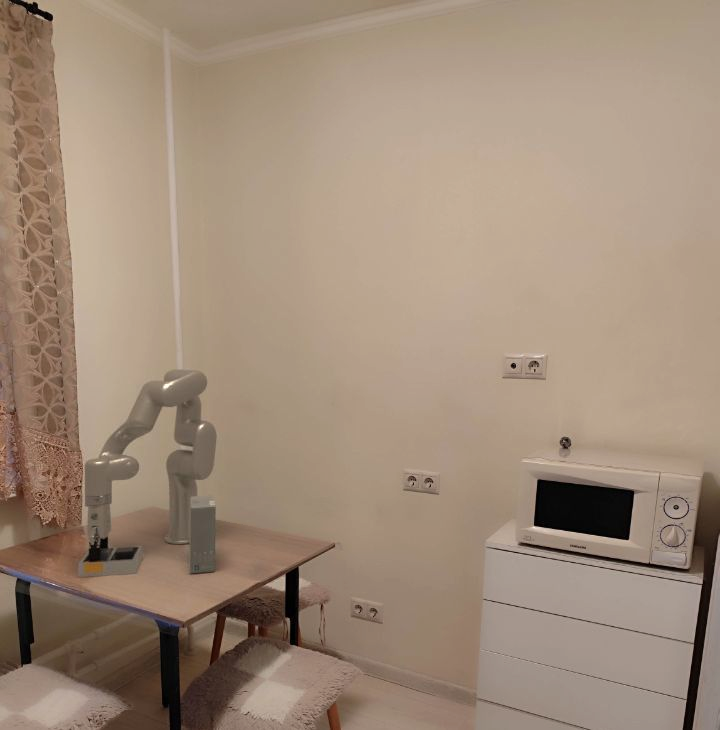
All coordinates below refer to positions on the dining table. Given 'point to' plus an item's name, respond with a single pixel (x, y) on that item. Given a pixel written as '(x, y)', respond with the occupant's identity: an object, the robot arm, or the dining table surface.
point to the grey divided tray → (112, 562)
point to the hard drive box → (202, 534)
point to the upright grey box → (105, 553)
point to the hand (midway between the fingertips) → (98, 555)
